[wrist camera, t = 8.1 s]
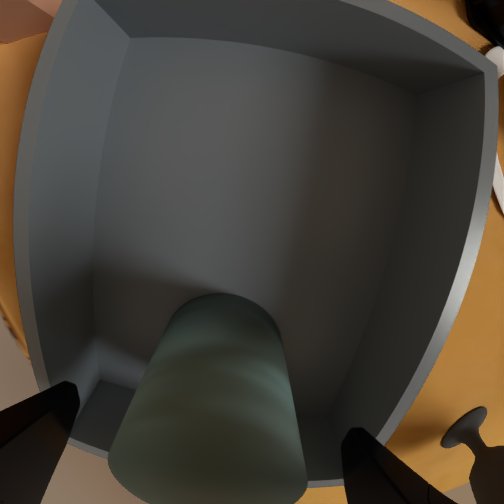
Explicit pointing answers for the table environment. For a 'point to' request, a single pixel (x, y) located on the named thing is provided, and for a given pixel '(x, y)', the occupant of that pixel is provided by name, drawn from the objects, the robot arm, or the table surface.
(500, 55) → the candle holder
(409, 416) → the table surface
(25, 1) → the cube
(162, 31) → the tote
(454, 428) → the sundae
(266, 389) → the cylinder
